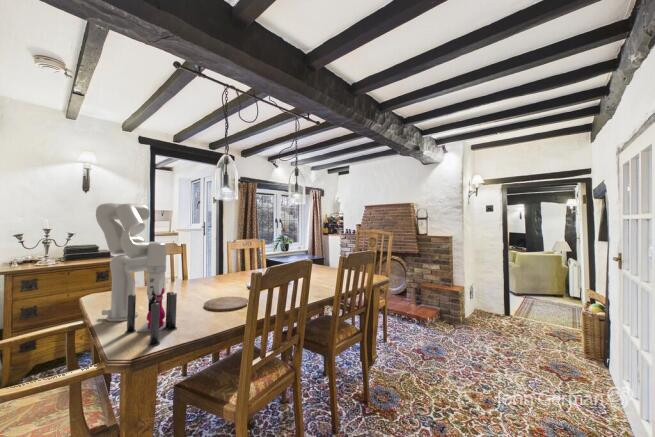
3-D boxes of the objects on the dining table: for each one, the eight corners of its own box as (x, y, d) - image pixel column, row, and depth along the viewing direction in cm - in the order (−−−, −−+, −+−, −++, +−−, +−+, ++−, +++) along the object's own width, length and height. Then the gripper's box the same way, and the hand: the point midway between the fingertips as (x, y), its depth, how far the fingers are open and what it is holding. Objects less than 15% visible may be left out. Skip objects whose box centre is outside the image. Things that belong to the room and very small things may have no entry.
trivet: (234, 313, 147) (234, 310, 147) (194, 309, 152) (194, 306, 152) (255, 301, 171) (255, 298, 171) (220, 298, 176) (220, 295, 176)
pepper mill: (142, 328, 121) (144, 284, 121) (152, 322, 128) (153, 280, 129) (159, 328, 122) (161, 284, 122) (167, 323, 129) (169, 280, 129)
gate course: (102, 350, 102) (104, 307, 102) (130, 328, 123) (131, 292, 124) (163, 345, 107) (164, 304, 107) (179, 325, 128) (180, 291, 128)
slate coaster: (136, 332, 119) (136, 331, 119) (146, 324, 128) (146, 323, 128) (162, 330, 121) (162, 329, 121) (169, 322, 131) (169, 321, 131)
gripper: (158, 272, 118) (157, 314, 117) (171, 266, 134) (170, 303, 134) (139, 273, 116) (137, 315, 115) (154, 266, 133) (153, 304, 132)
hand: (155, 308), depth 125 cm, fingers open, 5 cm apart
